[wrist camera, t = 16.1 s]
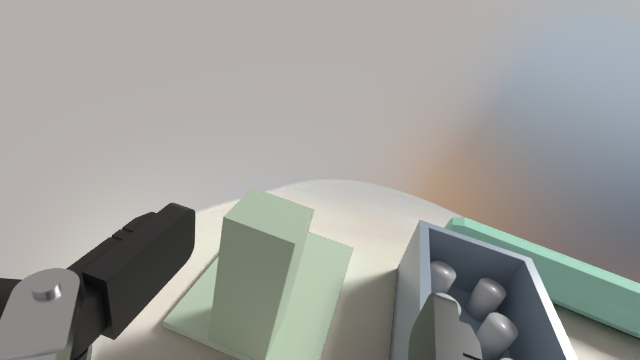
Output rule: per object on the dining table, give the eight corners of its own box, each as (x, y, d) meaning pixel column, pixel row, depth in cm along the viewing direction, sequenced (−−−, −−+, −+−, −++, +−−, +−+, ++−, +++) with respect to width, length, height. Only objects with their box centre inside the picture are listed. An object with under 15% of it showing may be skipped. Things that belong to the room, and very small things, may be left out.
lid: (351, 254, 35) (385, 159, 30) (309, 391, 22) (357, 267, 17) (254, 218, 36) (271, 121, 31) (162, 328, 23) (166, 196, 18)
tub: (498, 304, 33) (531, 258, 30) (545, 475, 21) (607, 423, 18) (397, 268, 34) (419, 219, 31) (385, 408, 22) (419, 350, 19)
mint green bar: (454, 210, 35) (751, 322, 29) (448, 205, 41) (695, 297, 35) (432, 264, 36) (718, 383, 30) (429, 251, 41) (669, 349, 35)
